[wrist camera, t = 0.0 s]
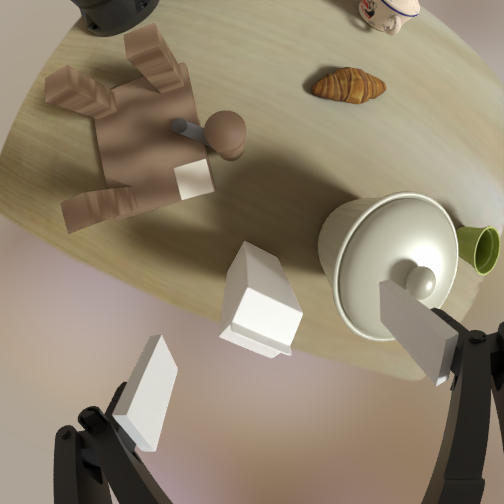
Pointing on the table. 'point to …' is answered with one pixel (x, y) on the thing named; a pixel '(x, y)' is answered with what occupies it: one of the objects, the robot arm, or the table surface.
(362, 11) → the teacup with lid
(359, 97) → the croissant
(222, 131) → the hinged leg
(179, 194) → the stool seat
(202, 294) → the table surface
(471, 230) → the plant pot
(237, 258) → the milk
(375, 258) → the canister
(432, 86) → the table surface
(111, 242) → the table surface
